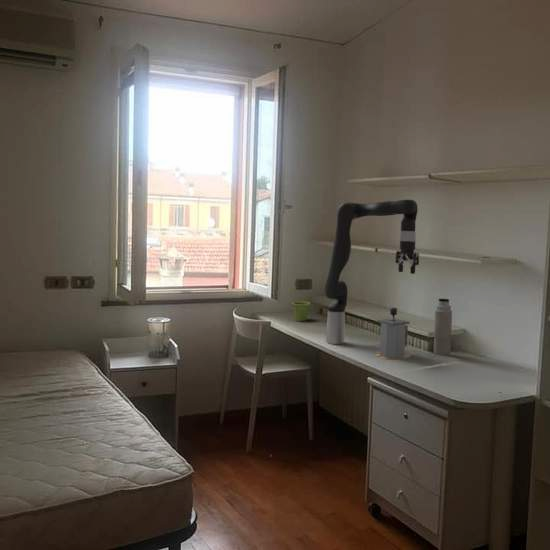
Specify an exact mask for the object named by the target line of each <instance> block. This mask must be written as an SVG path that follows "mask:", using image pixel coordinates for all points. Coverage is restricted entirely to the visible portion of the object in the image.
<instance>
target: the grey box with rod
mask: <svg viewBox="0 0 550 550" xmlns="http://www.w3.org/2000/svg"><path fill="white" fill-rule="evenodd" d="M376 322H377V323H380V345H379V346H380V347H379V348H380V349H379V350H380V351H379V352H380V356H383V357H386V358H402V357H404V353H405V347H407V346H408V330H409V324H410V322H411V321H408V320H404V319H401V318H395V317H394V321H392V317H391V318H384V319H382V318H381V319H377V320H376Z"/></svg>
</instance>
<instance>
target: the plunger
mask: <svg viewBox="0 0 550 550" xmlns="http://www.w3.org/2000/svg"><path fill="white" fill-rule="evenodd" d="M389 314H390V315H391V316H392V317H391V318H392V321H394V318H395V316H397V314H398V308H397V307H390V308H389Z"/></svg>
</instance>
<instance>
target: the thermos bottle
mask: <svg viewBox="0 0 550 550" xmlns="http://www.w3.org/2000/svg"><path fill="white" fill-rule="evenodd" d="M452 319H453V310H452V306H451V305H450V299H448V298H438V304H437V305H436V309H435V310H434V331H433V332H434V333H433V334H434V336H433V337H434V339H433V341H434V342H433V354H435V355H438V356H448V357H451V347H452V345H451V344H452V343H451V342H452V325H453V324H452V321H453V320H452Z"/></svg>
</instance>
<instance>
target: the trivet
mask: <svg viewBox="0 0 550 550" xmlns="http://www.w3.org/2000/svg"><path fill="white" fill-rule="evenodd" d="M373 356H374V357H375V358H377V359H383V360H388V361H390V360H393V361H401V360H402V361H403V360H404V361H405V360H408V359H410V358H411V359H412V355H411V354H409V353H406V352H404V357H402V358H386V357H383V356H380V351H376V352H375V353H373Z"/></svg>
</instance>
